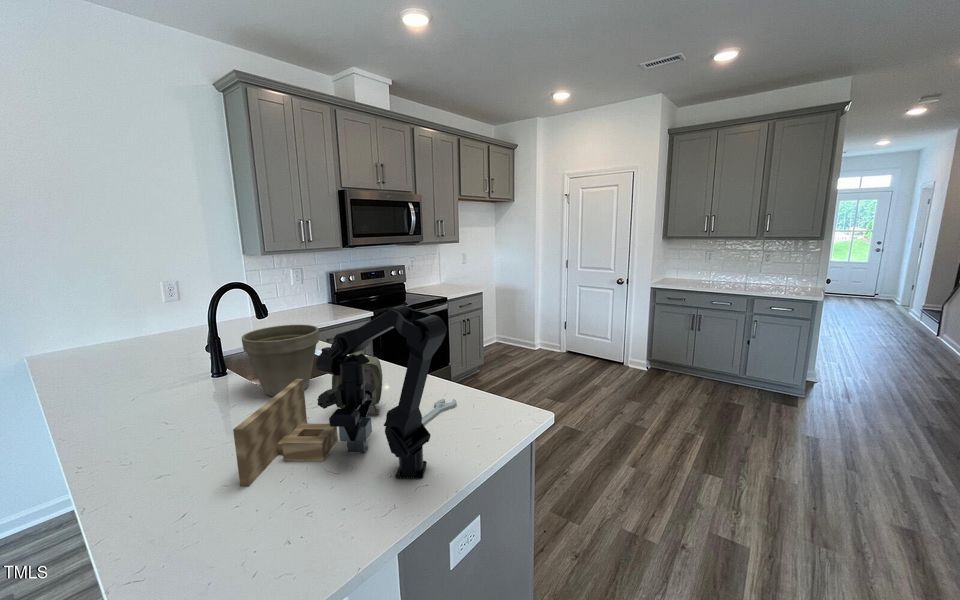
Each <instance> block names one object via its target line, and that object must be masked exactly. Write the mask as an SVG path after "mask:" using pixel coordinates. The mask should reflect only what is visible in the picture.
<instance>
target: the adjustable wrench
mask: <svg viewBox="0 0 960 600" xmlns="http://www.w3.org/2000/svg"><path fill="white" fill-rule="evenodd" d="M456 407H457V399H452V401H451V402H446V399H445V398H442V399H439V400H437V401H436V402H434V405H433V409H432V410H430V411H429V412H427V413H426V414H425V415H422V424H423V425H424V426H425V427H426V425H427V424H429V423H430V422H431V421H433V419H435V418H436V417H437V416H439V415H440V414H442V413H443V412H446V411H449V409H450V410H452V409H455V408H456Z"/></svg>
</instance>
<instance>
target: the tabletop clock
mask: <svg viewBox="0 0 960 600" xmlns="http://www.w3.org/2000/svg"><path fill="white" fill-rule="evenodd" d="M359 354H363V355H364V356H365V357H367V358H368V359H369V362H368V363H366V364H363V367H364V379H367V383H366V384H365V386H373V387H374V388H375V392H376V395H375V397H374V398H373V399H371V398H370V395H368V398H367V400H372V403H371V406H370V408H371V407H373V409H374V414H375V415H377V416H378V415H379V414H380V413H381V411H380V409H377V407H376V405H379V403H380V401H381V398H382V390H383V369H382V365H381V361H380V359H379V358H378V357H376V356H372V355H366V354H365V353H364V352H363V350H361V351H358V352H355V353H352V354H349V355H359ZM340 384H341V376H340V375H339V376H335V375H331V389H332V388H335V387H338V386H339V385H340ZM335 405H336V407H337V408H344V407H345V405H343V406H338V403H337V404H335Z"/></svg>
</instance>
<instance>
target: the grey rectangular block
mask: <svg viewBox="0 0 960 600" xmlns="http://www.w3.org/2000/svg"><path fill="white" fill-rule="evenodd" d="M372 424H373V423H372V417H366V418H362V419H361V423H360V426H359V429H358V433H357V436H356V439H355V441H350V439H349V436H348V434H347V432H346V430H345V428H344V427H338V434H339V442H341V443H342V442H346V453H347V454H365V452H366V450H367V449H368V439H369V438H370V436H371V434H372V432H373V426H372Z"/></svg>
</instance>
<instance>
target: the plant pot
mask: <svg viewBox="0 0 960 600" xmlns="http://www.w3.org/2000/svg"><path fill="white" fill-rule="evenodd" d="M319 333H320V330H319V327H318V326H315V325H311V324H284V325H277V326H276V325H275V326H269V327H263V328H260V329H255V330H252V331H249V332H247V333H244V334H243V335H242V336H241V343H242V349H243V351H244V352H245V354H247V355H248V358H249V360H250V363H251V365H252V367H253V370H254V372H255V374H256V376H257V379H258V381H259V384H260V387H261V388H262V390H263V392H264V394H265V395H267V396H269V397H274V396H276V395H277V394H278V393H279V392H281V391H282V390H283V389H284V388H286V387H287V386H288V385H289V384H291V383H292V382H293V381H294V380H296V379H303V383H304V391H305V390H306V389H307V388H308V387H309V386H310V381H311V377H312V372H313V371H312V370H313V365H314V361H315V356H316V349H317V344H319V342H320V334H319Z"/></svg>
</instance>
